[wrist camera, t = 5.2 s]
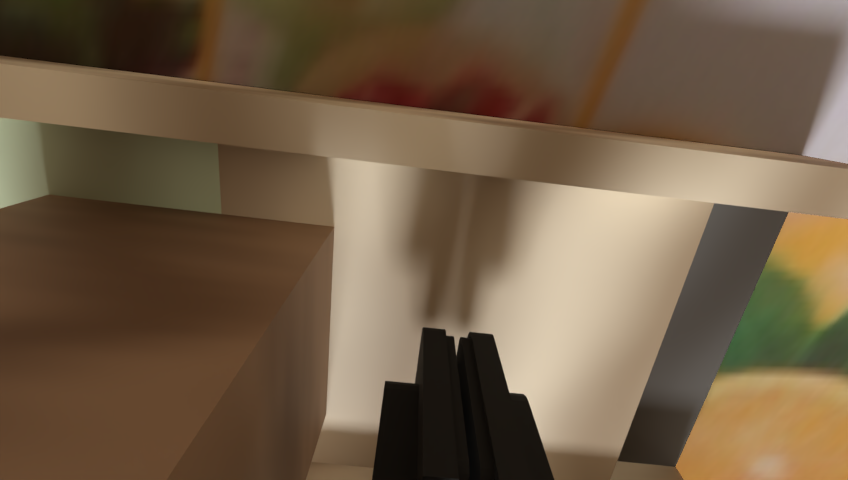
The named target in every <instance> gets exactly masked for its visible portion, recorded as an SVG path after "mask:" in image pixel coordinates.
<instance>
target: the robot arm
mask: <svg viewBox="0 0 848 480" xmlns="http://www.w3.org/2000/svg"><path fill="white" fill-rule="evenodd" d="M372 480H554V477H553V474H552V471H551V468H550V465H549V462H548V459H547V456H546V453H545V450H544V447H543V444H542V441H541V438H540V435H539V432H538V429H537V426H536V423H535V420H534V417H533V414H532V411H531V408H530V404H529V401H528V399H527V397H526V396H525V395H524V394H518V393H509V390H508V386H507V382H506V379H505V375H504V372H503V368H502V364H501V361H500V357H499V354H498V350H497V346H496V343H495V339H494V336H493V334H486V333H477V332H469V334H468V337H467V338H465V337H460V339H459V344H458V349H457V355H456V349H455V340H454V336H446V330H445V329H437V328H428V327H423V328H422V334H421V341H420V349H419V356H418V363H417V371H416V378H415V384H414V383H404V382H393V381H385V385H384V392H383V400H382V408H381V415H380V423H379V430H378V438H377V445H376V453H375V460H374V468H373V475H372Z"/></svg>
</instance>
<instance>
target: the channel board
mask: <svg viewBox="0 0 848 480" xmlns="http://www.w3.org/2000/svg"><path fill="white" fill-rule="evenodd" d="M46 195H58V196H66V197H75V198H84V199H93V200H102V201H111V202H120V203H128V204H137V205H146V206H155V207H164V208H173V209H182V210H190V211H199V212H208V213H217V214H226V215H235V216H243V217H252V218H261V219H270V220H279V221H288V222H296V223H305V224H314V225H323V226H332V227H334V247H333V270H332V292H331V315H330V338H329V361H328V384H327V407H326V416H325V420H324V423H323V426H322V429H321V433H320V436H319V439H318V442H317V445H316V449H315V452H314V455H313V458H312V462H311V465H310V468H309V471H308V475H307V478H306V480H372V475H373V468H374V460H375V453H376V445H377V438H378V430H379V423H380V415H381V408H382V400H383V392H384V385H385V381H393V382H404V383H414V384H415V378H416V371H417V363H418V356H419V349H420V341H421V334H422V328H423V327H428V328H437V329H445V330H446V336H454V340H455V349H456V355H457V349H458V344H459V339H460V337H465V338H467V337H468V334H469V332H477V333H486V334H493V336H494V339H495V343H496V346H497V350H498V354H499V357H500V361H501V364H502V368H503V372H504V375H505V379H506V382H507V386H508V390H509V393H518V394H524V395H525V396H526V397H527V399H528V401H529V404H530V408H531V411H532V414H533V417H534V420H535V423H536V426H537V429H538V432H539V435H540V438H541V441H542V444H543V447H544V450H545V453H546V456H547V459H548V462H549V465H550V468H551V471H552V474H553V477H554V480H683V478H682V476H681V475H680V473H679V472H678V470H677V469H676V467H675V466H676V464H677V462H678V459H679V457H680V455H681V453H682V450H683V448H684V446H685V444H686V441H687V439H688V437H689V435H690V432H691V430H692V428H693V426H694V423H695V421H696V419H697V417H698V414H699V412H700V410H701V408H702V405H703V403H704V401H705V399H706V396H707V394H708V392H709V390H710V387H711V385H712V383H713V381H714V378H715V376H716V374H717V372H718V369H719V367H720V365H721V363H722V360H723V358H724V356H725V354H726V351H727V349H728V347H729V345H730V342H731V340H732V338H733V336H734V334H735V331H736V329H737V327H738V325H739V322H740V320H741V318H742V316H743V313H744V311H745V309H746V307H747V304H748V302H749V300H750V298H751V295H752V293H753V291H754V289H755V286H756V284H757V282H758V280H759V277H760V275H761V273H762V271H763V268H764V266H765V264H766V262H767V259H768V257H769V255H770V253H771V250H772V248H773V246H774V244H775V241H776V239H777V237H778V235H779V232H780V230H781V228H782V226H783V223H784V221H785V219H786V217H787V214H788V212H793V213H801V214H809V215H818V216H826V217H835V218H843V219H848V164H846V163H840V162H835V161H830V160H824V159H819V158H813V157H808V156H802V155H794V154H786V153H778V152H770V151H762V150H754V149H746V148H738V147H730V146H722V145H714V144H706V143H698V142H690V141H682V140H674V139H666V138H658V137H650V136H642V135H634V134H626V133H618V132H610V131H602V130H594V129H586V128H577V127H569V126H561V125H553V124H545V123H537V122H529V121H521V120H513V119H505V118H497V117H489V116H481V115H473V114H465V113H457V112H449V111H441V110H433V109H425V108H417V107H409V106H401V105H393V104H385V103H377V102H369V101H361V100H353V99H345V98H337V97H329V96H321V95H313V94H305V93H297V92H289V91H281V90H273V89H265V88H257V87H249V86H240V85H232V84H224V83H216V82H208V81H200V80H192V79H184V78H176V77H168V76H160V75H152V74H144V73H136V72H128V71H120V70H112V69H104V68H96V67H88V66H80V65H72V64H64V63H56V62H48V61H40V60H32V59H24V58H16V57H8V56H0V208H4V207H7V206H11V205H14V204H18V203H21V202H25V201H28V200H32V199H35V198H39V197H42V196H46Z"/></svg>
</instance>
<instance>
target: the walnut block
mask: <svg viewBox="0 0 848 480" xmlns="http://www.w3.org/2000/svg"><path fill="white" fill-rule="evenodd" d="M333 247H334V227H332V226H323V225H314V224H305V223H296V222H288V221H279V220H270V219H261V218H252V217H243V216H235V215H226V214H217V213H208V212H199V211H190V210H182V209H173V208H164V207H155V206H146V205H137V204H128V203H120V202H111V201H102V200H93V199H84V198H75V197H66V196H58V195H46V196H42V197H39V198H35V199H32V200H28V201H25V202H21V203H18V204H14V205H11V206H7V207H4V208H0V480H306V478H307V475H308V471H309V468H310V465H311V462H312V458H313V455H314V452H315V449H316V445H317V442H318V439H319V436H320V433H321V429H322V426H323V423H324V420H325V416H326V407H327V384H328V361H329V338H330V315H331V292H332V270H333Z"/></svg>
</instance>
